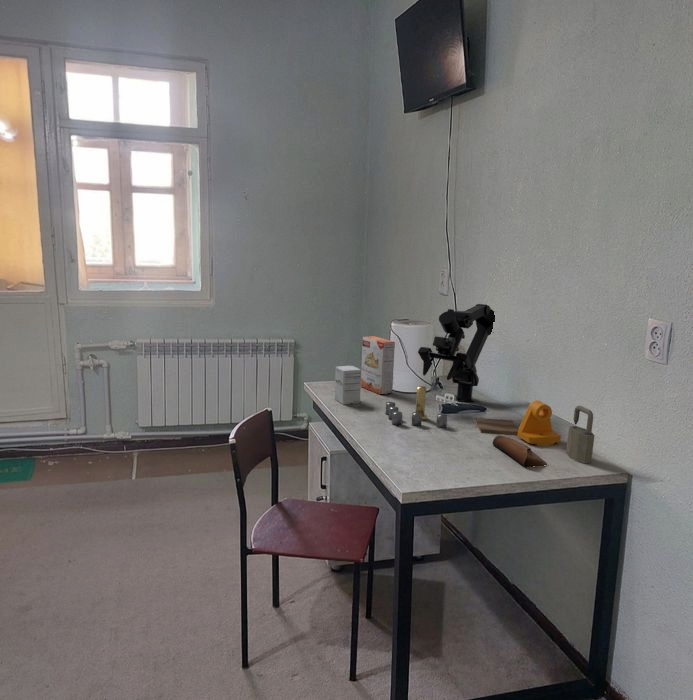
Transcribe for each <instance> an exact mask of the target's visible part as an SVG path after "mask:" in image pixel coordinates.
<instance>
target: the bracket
mask: <svg viewBox="0 0 693 700" xmlns="http://www.w3.org/2000/svg"><path fill="white" fill-rule="evenodd" d="M552 413H553V411H552V407H551V406H550V405H548V404H546V403H544V402H542V401H540V400H534V401H532V402H530V403H529V405H528V407H527V409H526V411H525V414H524V416H523V418H522V420H521V422H520V425H519V427H518V428H517V429H518V435H517V436H518V437H519V438H521V439H522V440H523V441H524V442H526V443H528V444H534V445H535V446H537V447H539V446H554V445H555V443H560V442H561V437H562V435H561V434H559V433H557V432H555V431H554V430H553V426H552V422H551V417H552Z"/></svg>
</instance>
